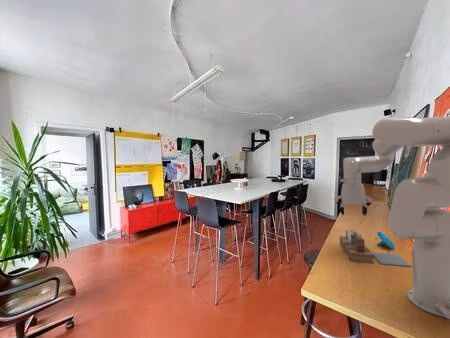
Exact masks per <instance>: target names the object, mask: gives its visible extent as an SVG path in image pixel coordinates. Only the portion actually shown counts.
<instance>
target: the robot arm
mask: <svg viewBox="0 0 450 338" xmlns="http://www.w3.org/2000/svg"><path fill="white" fill-rule="evenodd" d="M371 134H372V137H373V139H374V140H373V142H372V143H371V144H372V145H371V146H372V147H371V148H372V149H373V151H374V152H375V153H376V155H370V156H355V157H345V158H343V160H342V161H343V164H342V166H343V179H340V183H342V186H341V192H340V193H341V194H340V195H338V196H335V197H334V198H333V200H334V202H335V203H336V205H337V206H338V207H339V213H341V215H342V216H344V215H345V208H344V206H345V205H362V207H361V212H362V215H363V216H364V217H365V216H367V214H368V208H369V206H371V205H372V202H373V201H374V199H373V198H372V197H370V196H368V195H366V190H365V189H366V188H365V185H364V183H362V173H363V174H364V173H377V172H381V171H382V170H384V169H386V168H388V167H389V166H391V165H392V163H394V160H395V157H396V153H397V152H399V151H400V150H401V149H403V148H404V147H413V148H414V147H432V146H434V147H435V146H440V149H439V150H438V151H437V152H436V153H435V154H434V156H433V157H432V158H431V160H430V162H429V165H428V168H427V171H426V174H425V175H424V176H419V177H410V178H406V179H404V180H402V181H401V182H400V183H398V185H397V186H396V187H395V190H394V193H393V198H392V201H391V207H390V210H389V213H388V225H389V229H390V231H391V232H392V233H393V235H395V236H396V237H397V238H399V239H403V240H412V241H413V243H412V247H411V248H412V251H411V254H412V260H411V261H412V285H413V286H412V288H410V289H408V290H407V294H406V295H407V299H408V300H409V301H410V302H411V303H412V304H413V305H414V306H416V307H417V308H419V309H420V310H422V311H424V312H427V313H430V314H432V315H434V316H438V317H442V318H446V319H447V320H450V211H449V210H447V209H446V208H450V116H448V115H447V116H434V117H433V116H432V117H412V116H397V117H394V116H393V117H384V118H382V119H380V120H378V121H377V122H376V123H375V124H374V126H373V128H372V133H371ZM340 199H341V200H340ZM339 200H340V201H341V202H339ZM367 200H368V201H367Z"/></svg>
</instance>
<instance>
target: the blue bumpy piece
mask: <svg viewBox="0 0 450 338" xmlns="http://www.w3.org/2000/svg"><path fill="white" fill-rule="evenodd" d="M376 235H377V236H378V238H379V239H380V240H381V241H380V242H378V243H376V245H377V246H380V245H382V244H385V246H387V247H389V248H390V249H392V250H394V249H396V245H395V244H394V242H393V241H392V240H391V239H390V237H389V236H386V235H387V234H385V233H383V232H381V231H377V232H376Z"/></svg>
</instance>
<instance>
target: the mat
mask: <svg viewBox="0 0 450 338" xmlns="http://www.w3.org/2000/svg"><path fill="white" fill-rule="evenodd" d="M371 253H372V254H373V258H374V259H375V260H376V261H377V262H378V264H379V265H384V266H392V267H393V266H394V267H405V268H411V267H412V266H411V264H409V263H408V262H407V261H406V260H405V259H404V258H403V257H402V256H400V255H399V254H398V253H387V252H386V253H385V252H373V251H372V252H371Z"/></svg>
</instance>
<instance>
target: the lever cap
mask: <svg viewBox="0 0 450 338" xmlns="http://www.w3.org/2000/svg"><path fill="white" fill-rule="evenodd" d="M350 230H351V231H347V236H348V243H349V244H350V246H355V247H356V244H355V238H362V237H363V236H362V234H361V233H360V232H359V231H358V230H355V229H350Z"/></svg>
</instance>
